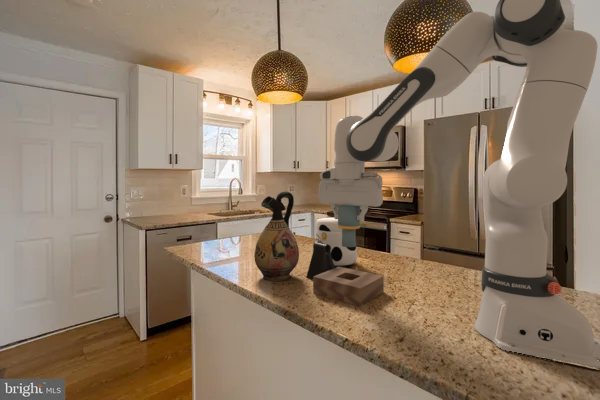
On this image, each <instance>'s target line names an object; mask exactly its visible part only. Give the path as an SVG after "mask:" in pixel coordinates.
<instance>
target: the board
mask: <svg viewBox="0 0 600 400" xmlns="http://www.w3.org/2000/svg"><path fill="white" fill-rule="evenodd" d="M384 279H385V276H384V275H380V274H377V273H373V272H372V273H371V272H366V271H362V270H356V269H352V268H347V267H335V268H334V269H331V270H329V271H326V272H324V273H321V274H319V275H316V276H313V280H312V284H313V285H312V291H313V292H312V293H313V294H316V295H319V296H323V297H326V298H330V299H333V300H336V301H340V302H344V303H347V304H351V305H354V306H357V307H362V306H363V305H365V304H367V303H368V302H370V301H372V300H373V299H375V298H377V297H379V295H381V294H383V293H384V285H385V284H384V282H385V281H384Z"/></svg>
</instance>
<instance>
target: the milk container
mask: <svg viewBox="0 0 600 400" xmlns="http://www.w3.org/2000/svg"><path fill="white" fill-rule="evenodd" d="M315 228H316V230H315V236H316V237H315V242H320V243H324V244H328V245H330V246H331V256H332V260H333V263H334V267H335V268H337V267H343V268H347V267H351V266H353V265H354V264H355V263H356V262H357V260H358V255H359V254H358V248H357V245H356V242H355V247H343V246H342V229H341V228H338V219H334V217H322V218H318V219H316V225H315Z"/></svg>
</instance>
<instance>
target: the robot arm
mask: <svg viewBox="0 0 600 400" xmlns="http://www.w3.org/2000/svg"><path fill="white" fill-rule="evenodd" d="M565 20H566V16H565V12H564V8H563V7H562V4H561V0H498V3H497V4H496V6H495V9H494V13H493V15H489V14H488V13H485V12H482V11H471V12H469V13H467V14H466V15H464V16H463V17H462V18H461V19H460V20H458V21H457V22H456V23H455V24H453V26H452V27H450V28H449V30H447V32H445V33H444V35H443V36H441V38H440V39H439V40H438V42H437V43H435V45H434V46H433V47H432V48H431V50H429V51H428V53H427V54H426V55H425V57H423V59H422V60H421V61H420V63H419V64H418V65H417V66H416V67H415V68H414V69H413V70H412V71H411V72H410V73H409V74H408V75H407V76H406V77H405V78H404V79H403V80H402V81H401V82H400V83H399V84H398V85H397V86H396V87H395V88H394V89H393V90H392V91H391V92H390V93H389V94H388V95H387V96H386V97H385V99H384V100H383V101H381V103H380V104H379V105H378V106H377V107H376V108H375V109H374V110H373V111H372V112H371V113H370V114H368V115H367V116H365V117H364V118H363V117H362V116H361V115H352V116H346V117H344V118H341V119H339V121H338V122H337V123H336V127H335V131H334V132H335V133H334V141H333V142H334V144H333V145H334V153H335V158H334V165H333V167H331V168H330V169H329V168H328V169H327V170H324V171H322V172H320V174H319V179H320V181H319V185H318V193H317V194H318V196H317V197H318V201H319V203H320V204H326V205H330V209H331V210H332V212H333V218H334V219H338V205H357V206H360V215H357V221H360V223H361V222H364V221H365V215H366V214H367V212H368V210H369V207H375V208H376V207H381V205H383V202H384V197H383V188H382V186H383V177H382V176H381V175H380V174H378V173H375V172H373V173H365V171H366V169H365V165H366V162H370V161H371V162H385V161H388V160H391V159H392V158H393V157H395V156H396V154H397V153H398V151H399V148H400V140H399V136H398V134H397V133H396V132H395V131H393V130H394V128H396V126H397V125H398V124H399V123H400V122H401V121H402V120H403V119H404V118H405V117H407V115H408V114H409V113H410V112H411V111H412V110H413V109H414V108H415V107H416V106H418V105H419V104H421V103H423V102H425V101H427V100H430V99H431V100H432V99H436V98H437V99H438V98H443V97H447V96H448V95H450V94H451V93H452V92H453V91H455V90H456V89H457V88H459V86H460V85H462V84H463V83H464V82H465V81H466V80H467V79H468V77H469V76H470V75H471V74H472V73H473V72H474V71H475V69H477V67H478V66H480V65H481V63H483V62H484V61H485V60H486V59H488V58H490V57H492V60H493V61H495V62H499V63H503V64H508V65H510V66H512V67H513V66H514V67H518V68H526V70H525V72H524V75H523V78H522V81H521V84H520V86H519V88H518V89H519V90H518V92H517V95H516V97H515V101H514V104H513V107H512V109H511V112H510V116H509V117H508V119H507V120H508V121H507V124H506V125H507V129H506V133H505V135H506V136H505V140H504V144H503V145H504V146H503V149H502V153H501V156H500V159H497V160H495V161H493V163H491V164H490V165H488V167H487V168H486V170H485V171H484V174H483V176H482V198H483V200H482V201H483V214H484V215H483V217H484V224H485V246H484V249H485V251H484V252H485V253H484V265H483V266H482V269H481V278H480V279H481V280H480V281H481V291H482V296H481V300H480V307H479V310H478V313H477V317H476V320H475V322H474V323H473V324H474V328H475V330H476V331H477V332H478V334H480V335H482V336H484V338H486V339H488V340H490V341H492V342H493V344H494V345H496V346H497V347H498V348H501V350H502V351H505V350H506V351H505V352H509V351H512V352H511V353H514V352H517V353H516V354H518V353H522V354H521V355H523V354H527V355H533V356H539V357H545V358H549V359H556V360H561V361H565V362H573V363H577V364H581V365H587V366H590V367H595V368H600V340H599V339H597V338H595V335H594V331H593V329H592V326H591V323H590V321H589V320H588V318H587V316H586V315H585V314H583V312H581V311H580V310H579V309H577V308H576V307H575V306H573V305H572V304H570V303H569V302H568V301H567V300H566V299H564V298H563V297H562V296H560V293H561V291H562V289H561V288H562V286H561V285H560V283H559V281H558V279H557V278H556V276H551V275H550V274H548V273H547V263H548V245H549V244H548V241H549V240H548V239H549V238H548V235H547V232H546V229H545V225H544V220H543V215H542V209H541V208H543V207H545V206H549V205H551V204H552V203H554V202H556V201H557V200H558V199H560V198H561V196H562V195H563V194H564V192H565V191H566V189H567V185H568V176H567V172H566V167H567V160H568V155H569V154H568V153H569V146H570V140H571V137H572V132H573V129H574V126H575V123H576V121H577V118H578V115H579V112H580V111H581V107H582V106H583V103H584V99H585V97H586V94H587V92H588V89H589V87H590V83H591V79H592V78H593V74H594V70H595V64H596V61H597V60H596V59H597V55H598V54H597V53H598V43H597V42H598V41H597V40H596V38H595V37H594V36H593V35H592V34H591V33H588V32H586V31H582V30H576V29H573V30H572V29H566V28H565V27H564V26H563V23H564V22H565ZM527 355H526V356H527ZM597 360H599V361H597Z"/></svg>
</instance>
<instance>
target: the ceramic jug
mask: <svg viewBox="0 0 600 400" xmlns="http://www.w3.org/2000/svg"><path fill="white" fill-rule="evenodd" d="M283 198H285V199H287V200H288V202H287V206H285V205H284V203H283V202H282V199H283ZM294 203H295V201H294V195H293V194H292V193H291V192H290V191H281V192H280V193H278V194H277V195H276V198H275V197H271V196H269V195H268V196H267V197H265V198H264V199H263V200H262V202H261V205H260V206H261V207H263V208H265V209H267V210H269V211H271V212H272V215H271V219H270V220H269V222H268V223H267V224H266V226H265V227H264V229H263V230H262V233H261V234H260V235H259V237H258V239H257V242H256V244H255V250H254V256H253V257H254V262H255V265H256V267H257V269H258V270H259V271H260V273H261V275H262V278H263V280H267V281H272V282H273V281H274V282H278V281H279V282H280V281H285V280H287V279H289V277H290V275H291V272H292V271H294V269H296V267H297V266H298V263H299V259H300V252H299V245H298V242H297V240H296V237H295V235H294V233H293V231H292V230H291V229H290V218H291V214H292V211H293V207H294ZM283 211H285V213H284V215H283Z"/></svg>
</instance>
